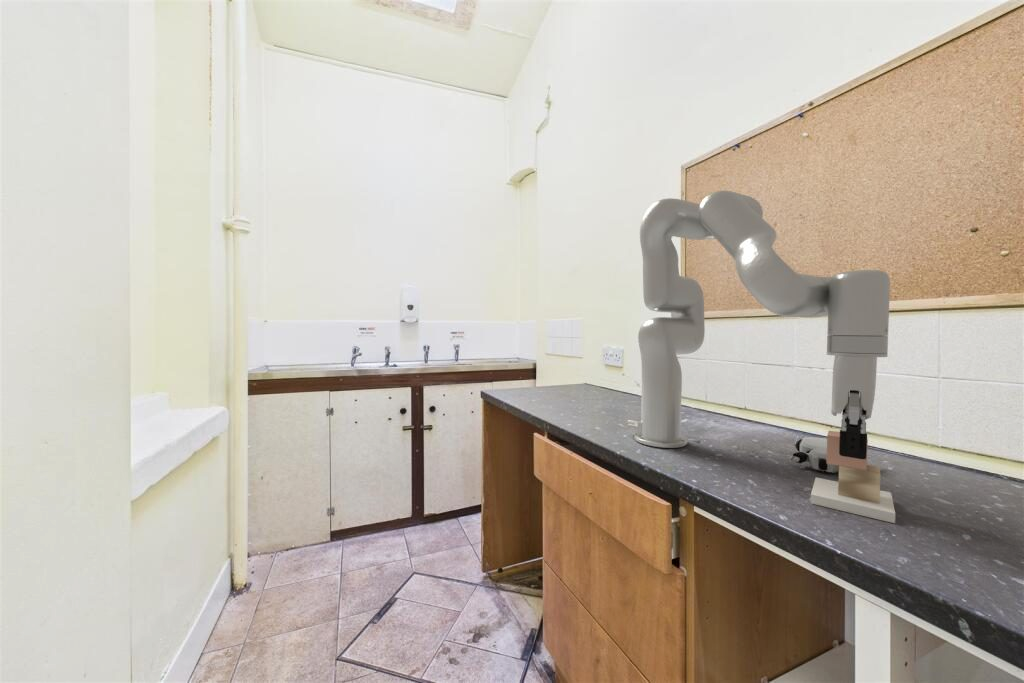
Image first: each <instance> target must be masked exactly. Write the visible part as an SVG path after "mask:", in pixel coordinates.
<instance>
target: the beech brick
mask: <svg viewBox="0 0 1024 683" xmlns="http://www.w3.org/2000/svg"><path fill="white" fill-rule="evenodd" d="M837 482H838V495H842V496H847V497H851V498H856V499H860V500H865V501H870V502H874V503H879V504H880V490H881V468H880V466H877V465H872V464H867V471H866V470H860V469H855V468H849V467H844V466H839V471H838V481H837Z"/></svg>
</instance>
